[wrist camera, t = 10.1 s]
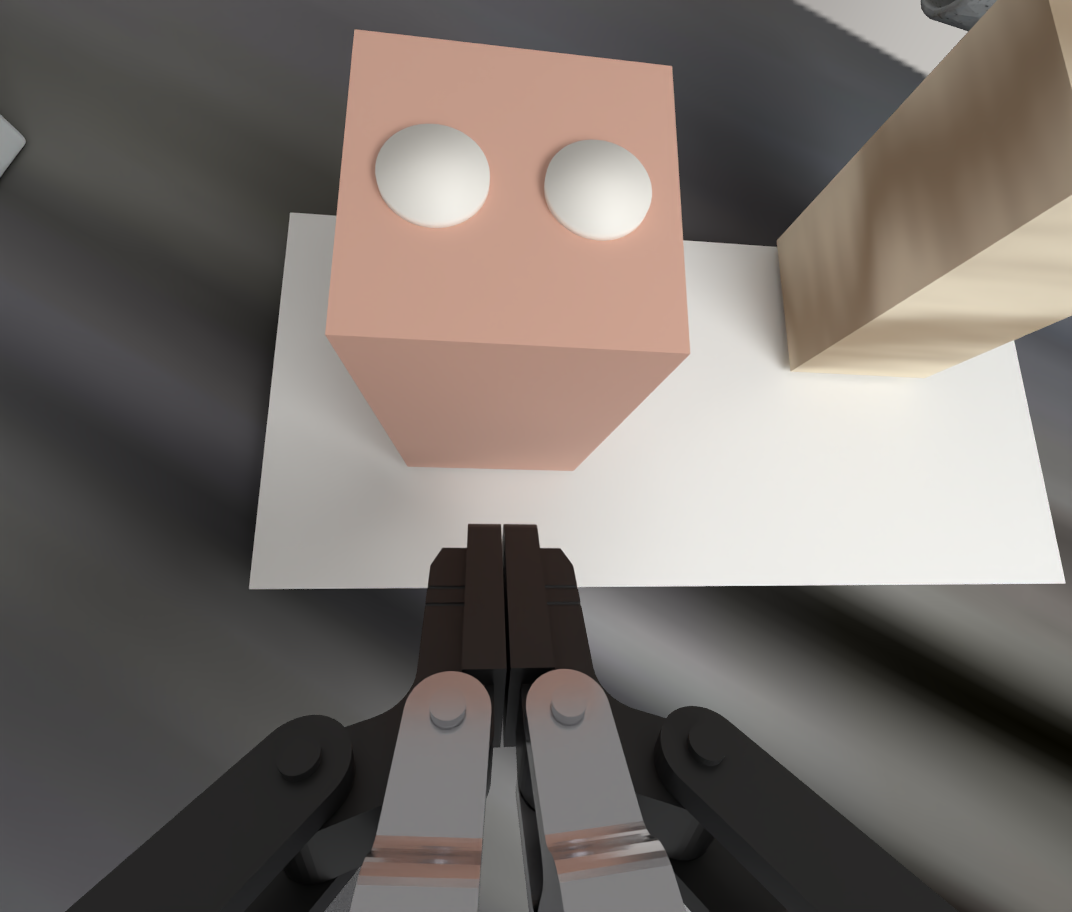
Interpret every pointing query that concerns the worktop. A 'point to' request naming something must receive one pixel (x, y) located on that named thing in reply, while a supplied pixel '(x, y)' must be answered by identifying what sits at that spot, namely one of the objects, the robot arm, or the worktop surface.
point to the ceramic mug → (956, 11)
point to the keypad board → (670, 463)
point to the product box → (9, 143)
